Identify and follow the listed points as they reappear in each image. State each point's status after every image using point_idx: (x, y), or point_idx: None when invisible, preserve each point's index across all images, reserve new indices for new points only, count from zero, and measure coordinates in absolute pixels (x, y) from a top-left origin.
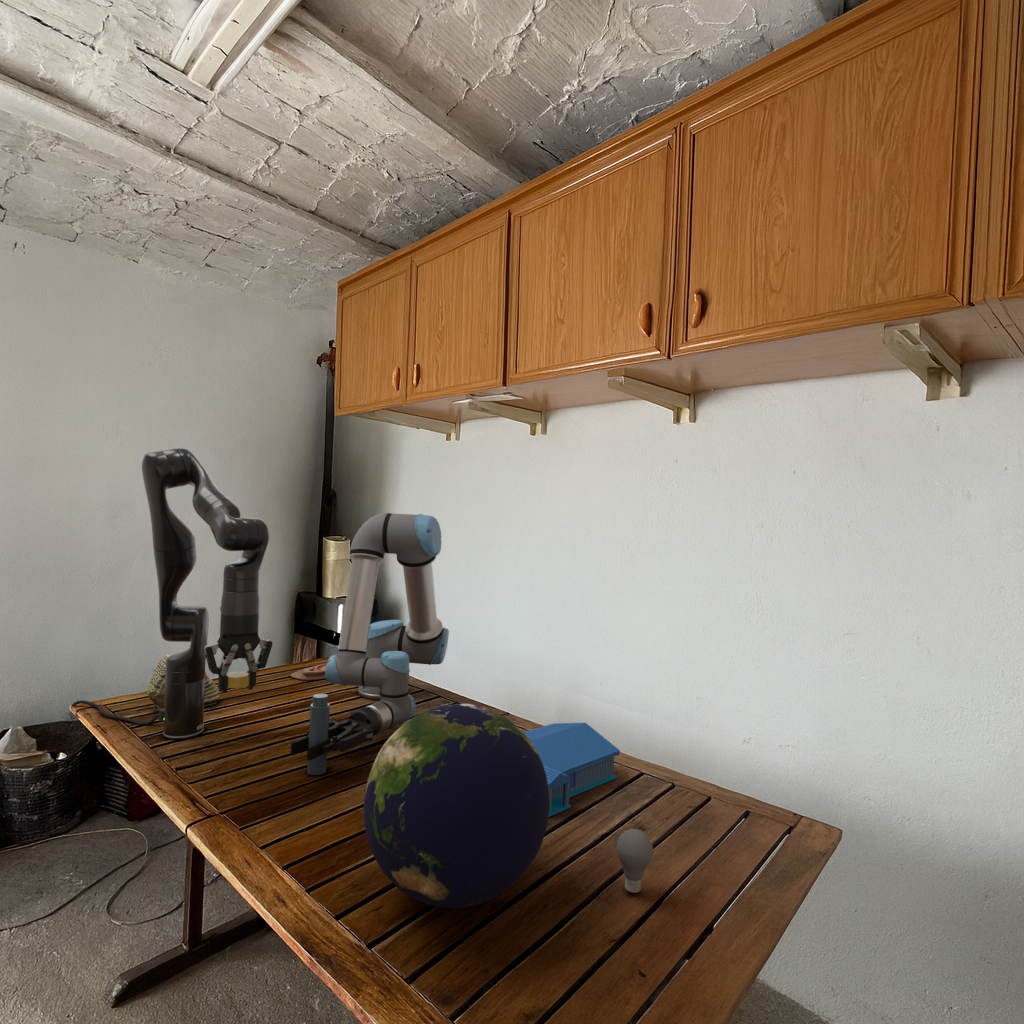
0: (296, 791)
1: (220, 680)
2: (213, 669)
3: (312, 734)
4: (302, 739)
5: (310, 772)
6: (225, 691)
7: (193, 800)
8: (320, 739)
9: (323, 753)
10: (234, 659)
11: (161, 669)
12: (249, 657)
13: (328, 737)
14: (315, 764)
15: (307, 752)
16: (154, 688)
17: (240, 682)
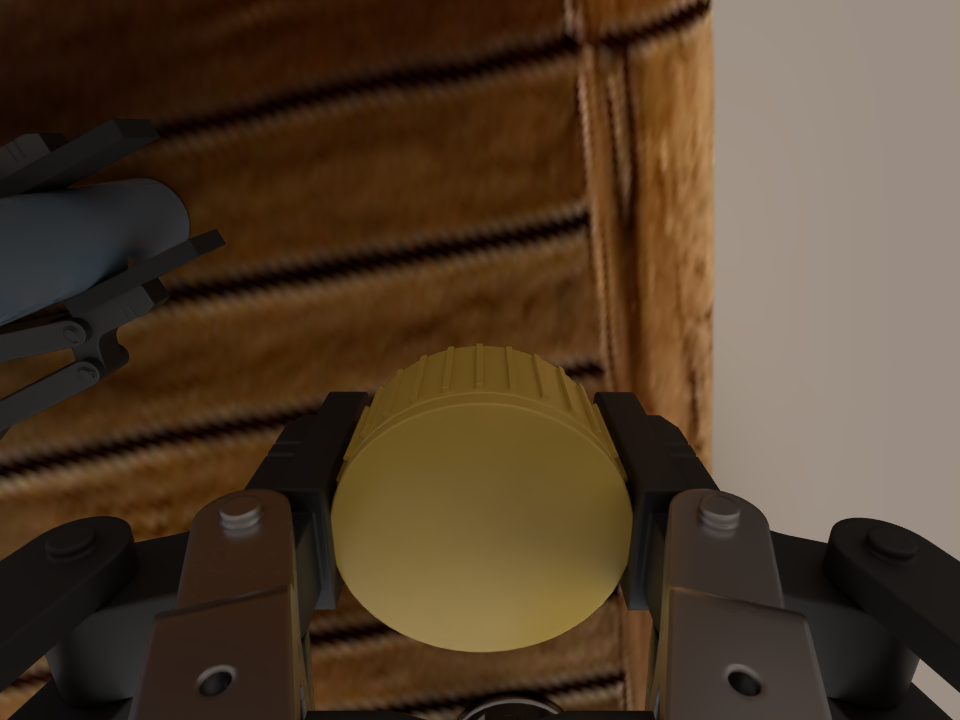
0: (264, 72)
1: (707, 476)
2: (938, 569)
3: (61, 228)
4: (134, 269)
5: (175, 201)
6: (613, 395)
7: (629, 220)
8: (34, 193)
9: (63, 136)
10: (596, 712)
11: None
12: (255, 681)
13: (14, 325)
14: (136, 188)
15: (137, 136)
16: None
17: (481, 368)
